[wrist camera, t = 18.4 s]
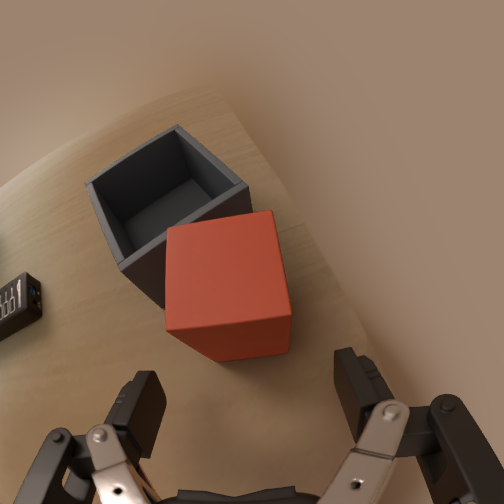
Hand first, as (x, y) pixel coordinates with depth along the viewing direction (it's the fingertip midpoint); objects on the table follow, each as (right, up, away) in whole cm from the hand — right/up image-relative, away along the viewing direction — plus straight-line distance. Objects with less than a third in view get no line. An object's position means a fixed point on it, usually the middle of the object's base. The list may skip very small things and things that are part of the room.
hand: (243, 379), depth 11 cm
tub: (-6, +7, +12) cm, 16 cm away
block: (0, +1, +8) cm, 8 cm away
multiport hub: (-27, -2, +10) cm, 29 cm away
